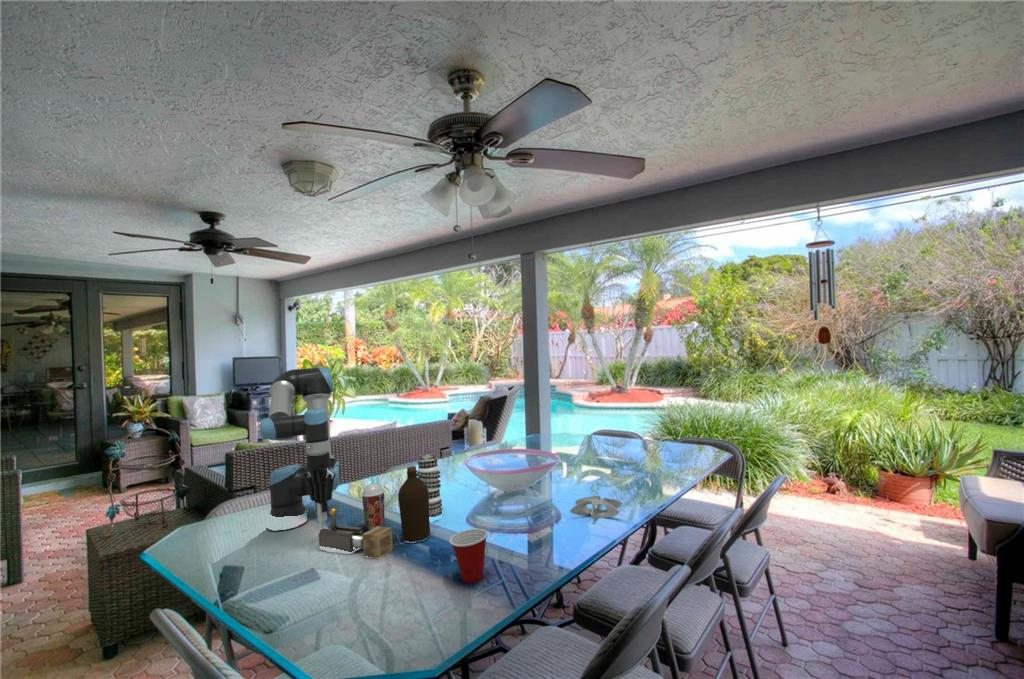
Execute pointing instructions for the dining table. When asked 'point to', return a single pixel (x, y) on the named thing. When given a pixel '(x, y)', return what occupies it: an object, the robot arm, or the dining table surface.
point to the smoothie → (373, 504)
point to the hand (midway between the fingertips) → (322, 520)
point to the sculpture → (596, 513)
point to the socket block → (377, 541)
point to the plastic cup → (470, 553)
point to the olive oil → (414, 507)
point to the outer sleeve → (339, 537)
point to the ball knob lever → (356, 539)
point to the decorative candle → (431, 482)
